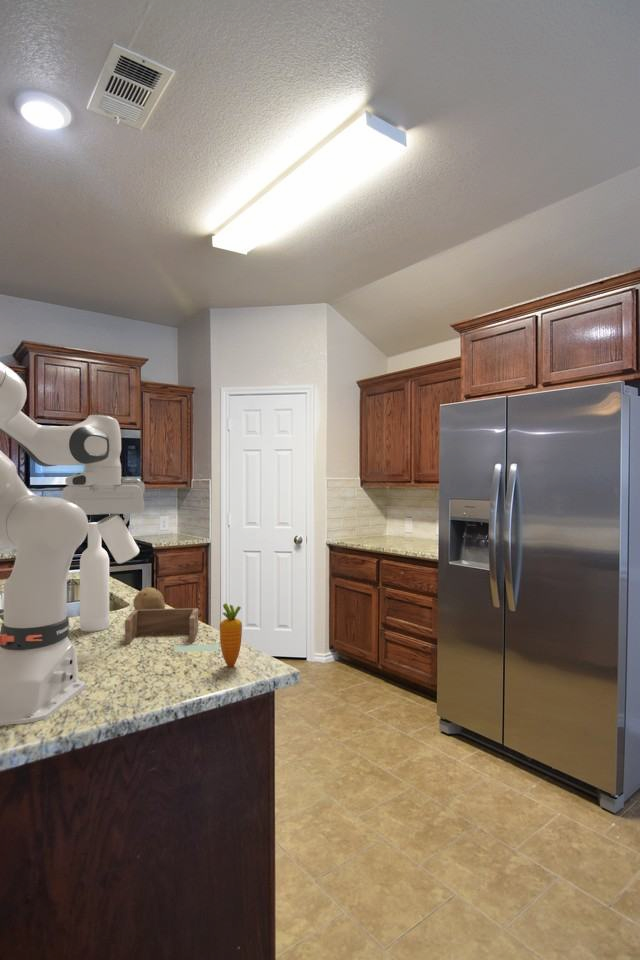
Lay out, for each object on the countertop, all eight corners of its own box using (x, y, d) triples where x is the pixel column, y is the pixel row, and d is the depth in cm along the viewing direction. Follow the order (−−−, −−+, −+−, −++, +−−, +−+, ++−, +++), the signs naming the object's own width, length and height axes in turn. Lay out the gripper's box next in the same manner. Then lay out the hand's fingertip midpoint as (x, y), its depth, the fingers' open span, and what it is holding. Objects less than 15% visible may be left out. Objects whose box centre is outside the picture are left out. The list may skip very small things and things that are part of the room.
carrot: (246, 668, 122) (246, 602, 122) (231, 674, 118) (231, 607, 117) (230, 663, 125) (230, 599, 124) (215, 670, 121) (215, 604, 120)
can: (131, 560, 138) (108, 520, 135) (112, 566, 140) (89, 527, 137) (144, 548, 143) (123, 509, 141) (126, 555, 146) (104, 517, 143)
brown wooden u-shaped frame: (194, 642, 139) (194, 618, 139) (125, 645, 137) (125, 620, 137) (198, 631, 149) (198, 608, 149) (134, 633, 147) (134, 609, 147)
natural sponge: (133, 617, 163) (133, 585, 162) (164, 615, 165) (164, 583, 165) (133, 626, 154) (133, 591, 154) (165, 623, 157) (165, 589, 157)
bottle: (111, 623, 157) (111, 521, 156) (107, 630, 149) (107, 523, 149) (82, 624, 155) (82, 521, 154) (76, 632, 147) (76, 524, 147)
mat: (216, 661, 126) (216, 659, 126) (169, 662, 125) (169, 661, 125) (219, 645, 137) (219, 644, 137) (176, 647, 136) (176, 645, 136)
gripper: (142, 478, 146) (142, 528, 146) (59, 478, 136) (59, 532, 136) (146, 478, 140) (146, 531, 140) (60, 478, 130) (60, 535, 131)
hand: (103, 531), depth 138 cm, fingers open, 8 cm apart
